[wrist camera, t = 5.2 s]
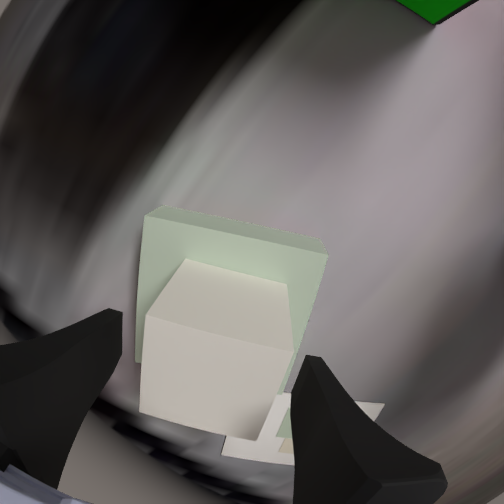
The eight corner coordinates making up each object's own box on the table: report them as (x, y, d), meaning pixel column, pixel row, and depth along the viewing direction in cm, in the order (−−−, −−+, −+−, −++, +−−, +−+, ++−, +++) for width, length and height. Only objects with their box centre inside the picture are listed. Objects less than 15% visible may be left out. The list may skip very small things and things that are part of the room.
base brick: (318, 236, 16) (328, 255, 14) (280, 362, 19) (281, 395, 16) (165, 203, 16) (144, 215, 13) (151, 333, 19) (134, 361, 16)
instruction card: (384, 403, 19) (385, 404, 19) (341, 467, 22) (341, 468, 22) (241, 384, 19) (240, 386, 19) (221, 453, 22) (221, 455, 21)
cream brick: (286, 284, 14) (293, 351, 9) (260, 364, 15) (256, 441, 11) (185, 258, 14) (145, 314, 9) (171, 341, 15) (139, 411, 11)
